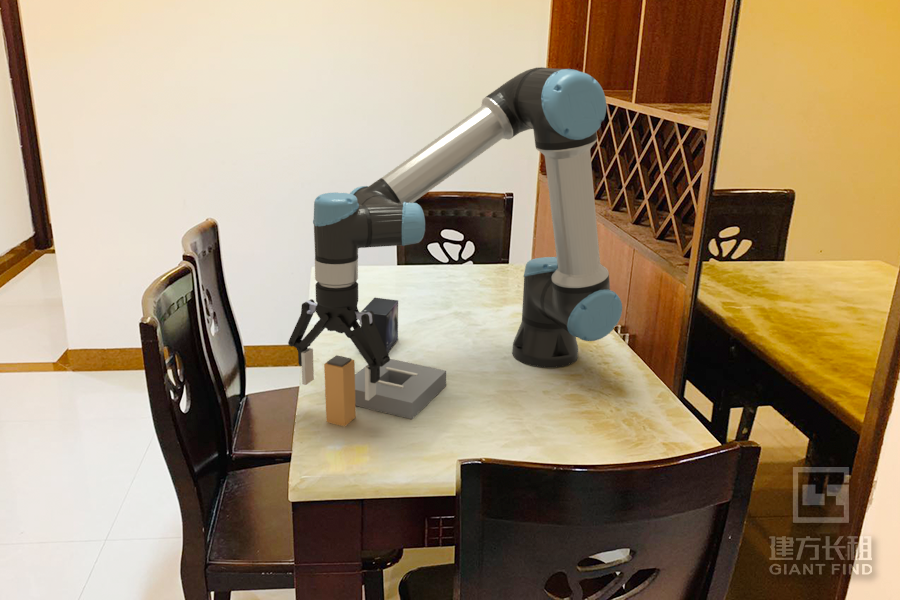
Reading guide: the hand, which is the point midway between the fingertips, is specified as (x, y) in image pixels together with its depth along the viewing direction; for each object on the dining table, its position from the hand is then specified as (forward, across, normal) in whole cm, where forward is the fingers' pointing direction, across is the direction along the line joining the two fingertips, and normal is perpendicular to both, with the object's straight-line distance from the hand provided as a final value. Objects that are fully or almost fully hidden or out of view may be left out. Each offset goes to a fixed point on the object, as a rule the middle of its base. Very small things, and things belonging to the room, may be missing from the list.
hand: (338, 389), depth 136 cm
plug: (+6, 0, 0) cm, 6 cm away
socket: (+6, -4, -14) cm, 16 cm away
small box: (+6, +10, -34) cm, 36 cm away
